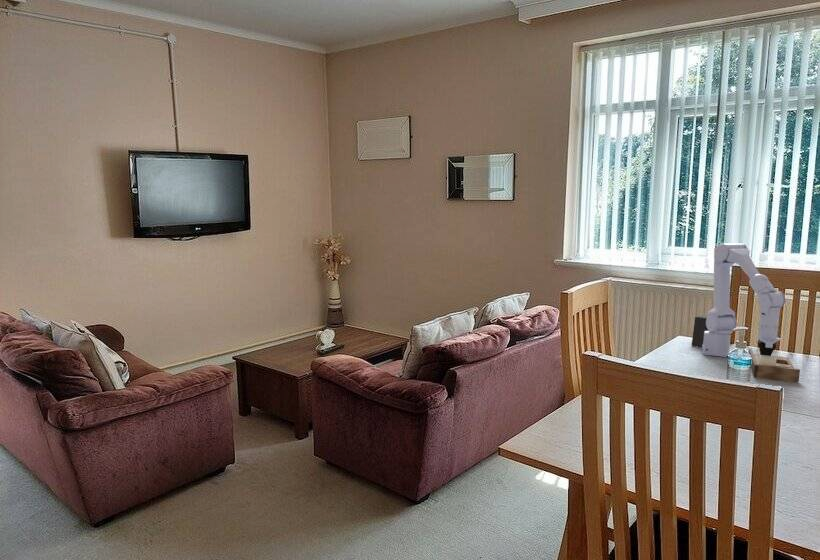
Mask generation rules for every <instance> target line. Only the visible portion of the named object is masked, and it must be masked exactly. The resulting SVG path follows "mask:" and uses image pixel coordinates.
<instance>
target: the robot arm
mask: <svg viewBox="0 0 820 560" xmlns="http://www.w3.org/2000/svg"><path fill="white" fill-rule="evenodd" d="M713 252H714V253H713V254H714V255H713V259H714V260H713V308H712V309H710V310H709V311H707V315H706V317H707V319H706V327H707V329H708V331H704V341H703V344H702V347H701V349H702V354H703V355H704V356H705V355H706V356H715V357H723V358H728V357H727V356H728V354H729V353H730V345H731V336H732V335H731V334H732V333H733V332H734V330H733V329H734V328H735V329H737V326H738V322H737V318H736V312H735V311H734V310H733V309H731V307H730V306H731V305H730V304H731V303H730V301H731V300H730V299H731V297H730V295H731V291H730V287H731V285H730V284H731V283H730V281H731V280H730V279H731V278H730V277H731V275H730V274H731V273H730V272H731V270H730V269H731V267H732V266H733V265H734V264H737V265H738V266H739V267H740V268H741V269H742V271H743V272H744V273H745V274H746V276H748V278H749V282H748V283H749V285H750V287H751V288H752V290H753V291H754V292H755V294H756V296H757V297H758V298H757V304H758V306H759V308H758V310H759V315H760V316H759V323H758V333H757V337H756V339H757V340H758V341H756V343H757V346H758V348H759V349H758V350H759V354H760V355H767V356H772V354H773V352H774V350H775V349H776V348H777V344H776V342H781V341H782V338H780V337H778V332H779V324H780V323H779V321H780V315H781V314H780V312H781V308H782V307H784V306H785V304H786V296H785V294H784V292H782V291H780V290H778V289H776V288H775V287H774V286H773V284H772V283H771V282H770V280H769V277H768V276H767V275H765V274H763V273H762V274H761V273H760V272H759V270H758V268H757V267H756V265H755V263H754V262H753V260H752V258H751V256H750V248H748V247H747V245H746V244H745V243H743V242H739V243H719V244H718V245H716V247H715V248H714V249H713ZM730 354H731V353H730Z"/></svg>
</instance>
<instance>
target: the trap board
mask: <svg viewBox="0 0 820 560" xmlns="http://www.w3.org/2000/svg"><path fill="white" fill-rule="evenodd" d="M747 353H749V354H750V355H751V357H752V364H751V367H750V368H751V369H750V370H751V372H752V376H753V378H757V379H765V380H772V381H773V380H775V381H781V382H788V381H790V382H789V383H796V382H799V381H800V372H801V369H799V368H795V367H794V365H793V363H792V362H791V360H790V357H788V356H779V355H778V356H777V355H774V356H775V358H776V366H768V365H759V358H760V353H754V351H753V348H751V347H748V352H747ZM799 383H800V382H799Z"/></svg>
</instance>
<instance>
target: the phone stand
mask: <svg viewBox="0 0 820 560" xmlns="http://www.w3.org/2000/svg"><path fill="white" fill-rule="evenodd" d="M706 319H707V316H700V315H695V316H694V325H693V331H692V339H691V345H694V346H693V347H695V346H698V347H697V348H702V344H703V341H704V331H708V329H707V327H706Z"/></svg>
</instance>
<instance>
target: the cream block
mask: <svg viewBox="0 0 820 560" xmlns="http://www.w3.org/2000/svg"><path fill="white" fill-rule="evenodd" d="M775 356H776V355H771V356H767V355H760V358H759V365H768V366H776V358H775Z"/></svg>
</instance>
